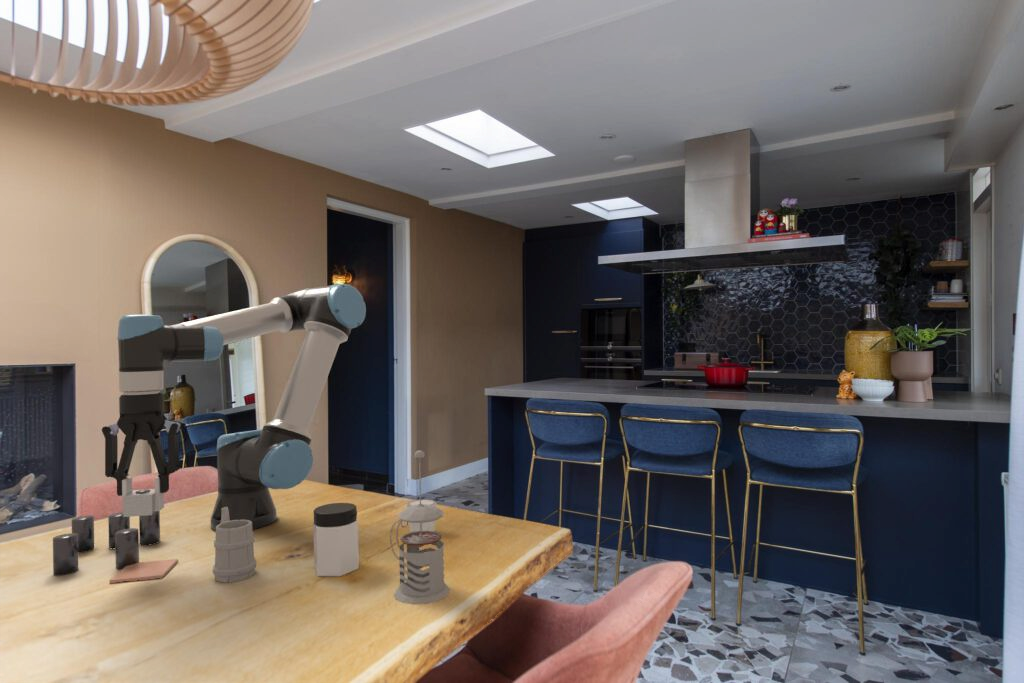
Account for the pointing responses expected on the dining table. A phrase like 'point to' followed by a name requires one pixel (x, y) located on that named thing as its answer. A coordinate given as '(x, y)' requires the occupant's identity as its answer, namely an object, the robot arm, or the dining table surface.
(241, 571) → the mug
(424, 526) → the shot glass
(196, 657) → the dining table surface
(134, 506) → the nut
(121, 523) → the cylinder
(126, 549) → the cylinder
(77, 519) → the cylinder
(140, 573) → the coaster
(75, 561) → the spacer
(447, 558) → the dining table surface
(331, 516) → the jar
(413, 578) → the french press
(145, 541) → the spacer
